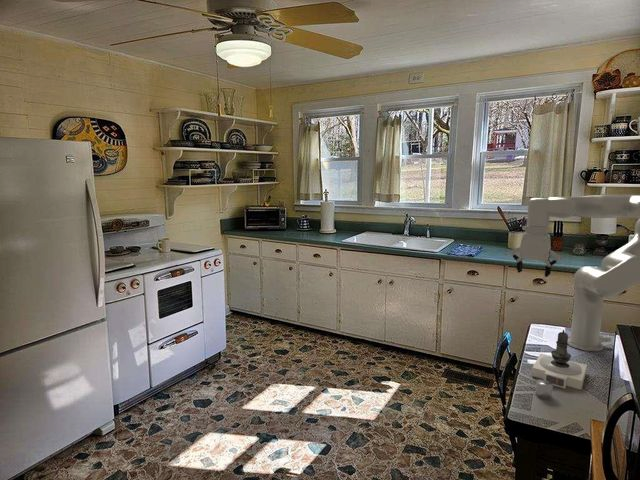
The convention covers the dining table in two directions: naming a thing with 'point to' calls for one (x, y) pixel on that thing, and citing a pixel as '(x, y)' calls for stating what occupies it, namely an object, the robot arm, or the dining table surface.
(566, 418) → the dining table surface
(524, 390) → the dining table surface
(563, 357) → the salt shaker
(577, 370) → the scale
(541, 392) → the steel spacer
